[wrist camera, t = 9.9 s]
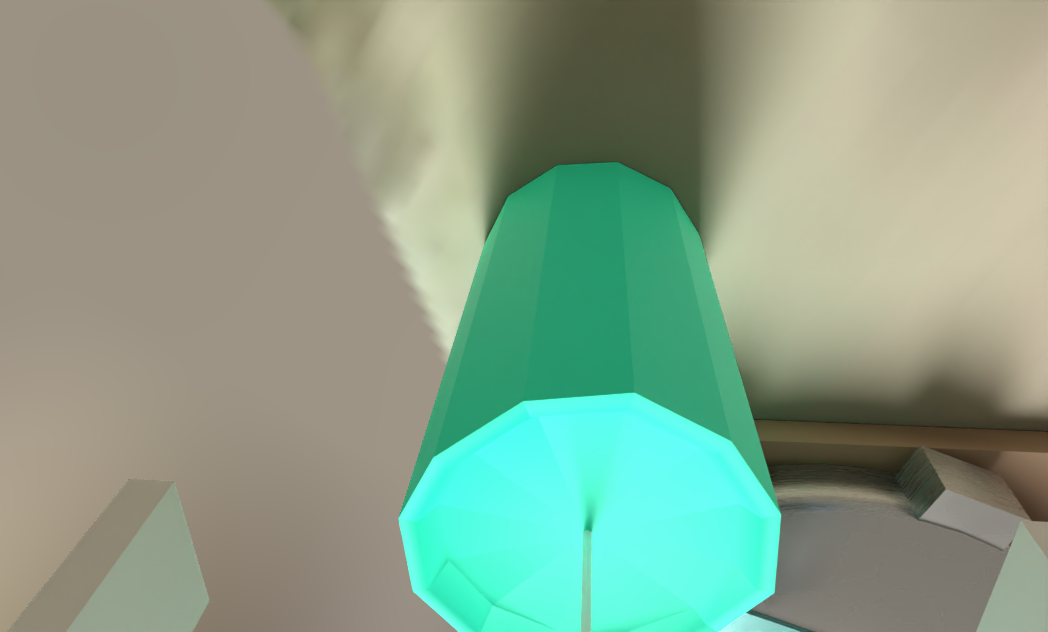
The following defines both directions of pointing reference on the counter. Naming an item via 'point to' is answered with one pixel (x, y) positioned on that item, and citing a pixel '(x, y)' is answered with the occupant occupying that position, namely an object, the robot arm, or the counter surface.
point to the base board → (1018, 456)
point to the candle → (591, 428)
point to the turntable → (886, 547)
